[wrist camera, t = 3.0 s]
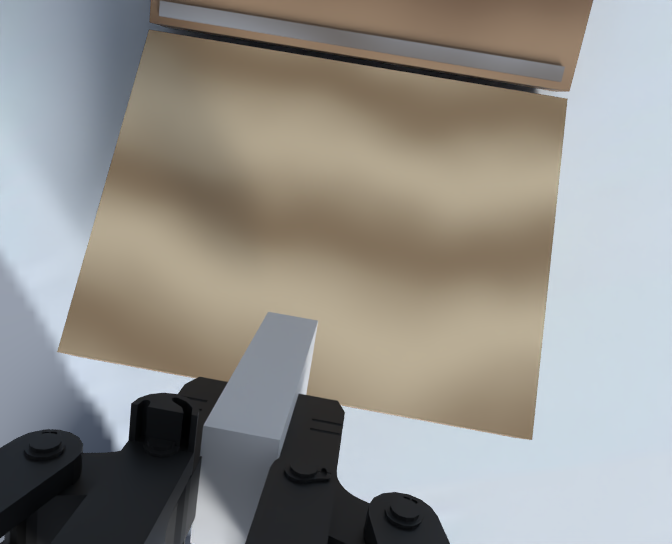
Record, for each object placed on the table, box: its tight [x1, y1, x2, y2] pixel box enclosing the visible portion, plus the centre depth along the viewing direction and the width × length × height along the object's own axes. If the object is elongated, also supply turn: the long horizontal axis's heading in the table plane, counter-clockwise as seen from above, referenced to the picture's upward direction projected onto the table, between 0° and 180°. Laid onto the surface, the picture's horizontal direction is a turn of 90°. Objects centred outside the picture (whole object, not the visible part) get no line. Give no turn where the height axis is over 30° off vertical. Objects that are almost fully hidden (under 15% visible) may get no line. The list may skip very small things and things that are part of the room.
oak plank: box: [57, 30, 567, 440], centre depth 25 cm, size 14×18×2 cm
